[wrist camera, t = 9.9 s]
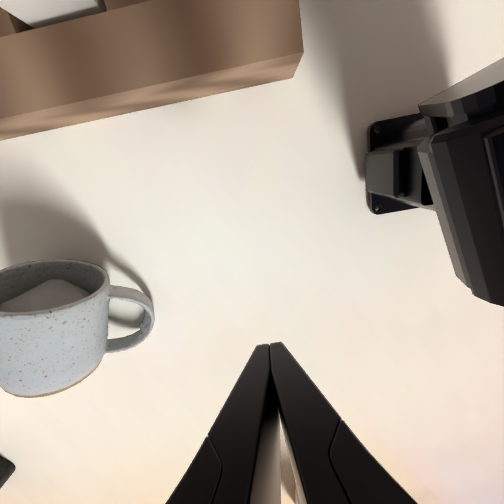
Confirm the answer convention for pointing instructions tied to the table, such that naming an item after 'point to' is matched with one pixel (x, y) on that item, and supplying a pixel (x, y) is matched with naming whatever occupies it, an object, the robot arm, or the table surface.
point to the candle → (5, 470)
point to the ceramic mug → (58, 324)
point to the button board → (140, 58)
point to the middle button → (51, 10)
